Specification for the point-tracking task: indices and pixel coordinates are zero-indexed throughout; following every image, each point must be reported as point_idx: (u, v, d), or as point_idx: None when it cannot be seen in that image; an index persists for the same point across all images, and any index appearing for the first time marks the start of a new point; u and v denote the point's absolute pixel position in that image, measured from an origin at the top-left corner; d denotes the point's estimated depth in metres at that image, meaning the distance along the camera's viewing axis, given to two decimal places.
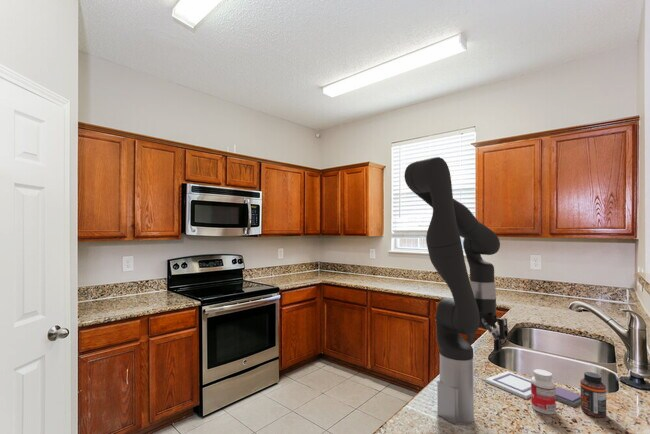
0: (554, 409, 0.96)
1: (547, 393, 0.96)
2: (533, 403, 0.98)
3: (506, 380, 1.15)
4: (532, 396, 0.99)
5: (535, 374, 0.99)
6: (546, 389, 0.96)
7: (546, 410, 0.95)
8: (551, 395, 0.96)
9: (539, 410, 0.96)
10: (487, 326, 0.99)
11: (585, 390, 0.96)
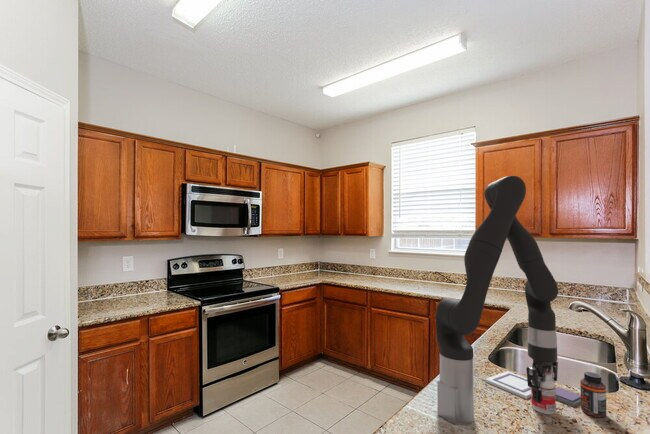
0: (554, 409, 0.96)
1: (547, 393, 0.96)
2: (533, 403, 0.98)
3: (506, 380, 1.15)
4: (532, 396, 0.99)
5: None
6: (546, 389, 0.96)
7: (546, 410, 0.95)
8: (551, 395, 0.96)
9: (539, 410, 0.96)
10: (552, 373, 0.98)
11: (585, 390, 0.96)
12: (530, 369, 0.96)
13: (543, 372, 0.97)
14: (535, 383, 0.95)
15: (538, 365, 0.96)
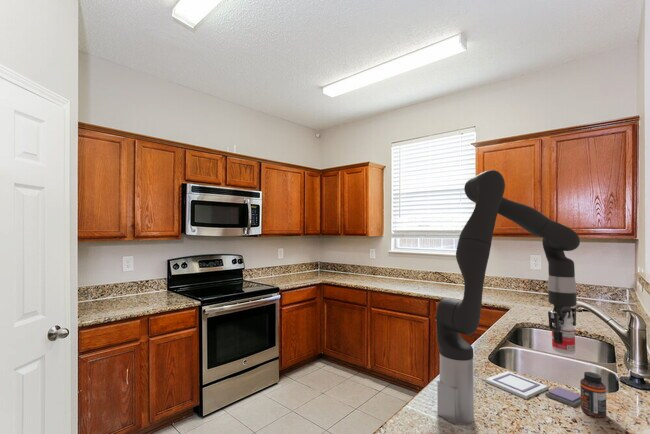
0: (574, 349, 1.04)
1: (568, 334, 1.03)
2: (554, 345, 1.06)
3: (506, 380, 1.15)
4: (553, 339, 1.07)
5: None
6: (567, 331, 1.03)
7: (567, 350, 1.03)
8: (571, 336, 1.03)
9: (560, 351, 1.04)
10: (571, 317, 1.06)
11: (585, 390, 0.96)
12: (552, 312, 1.03)
13: (563, 316, 1.04)
14: (556, 325, 1.02)
15: (559, 309, 1.04)
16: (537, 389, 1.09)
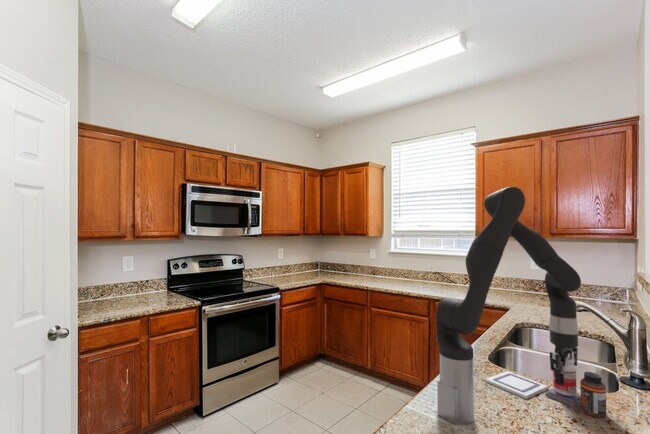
0: (575, 391, 1.03)
1: (569, 376, 1.03)
2: (555, 386, 1.06)
3: (506, 380, 1.15)
4: (554, 379, 1.06)
5: None
6: (568, 372, 1.03)
7: (568, 392, 1.03)
8: (573, 378, 1.03)
9: (561, 392, 1.04)
10: (572, 358, 1.06)
11: (585, 390, 0.96)
12: (553, 354, 1.03)
13: (565, 357, 1.04)
14: (558, 367, 1.02)
15: (560, 350, 1.04)
16: (537, 389, 1.09)
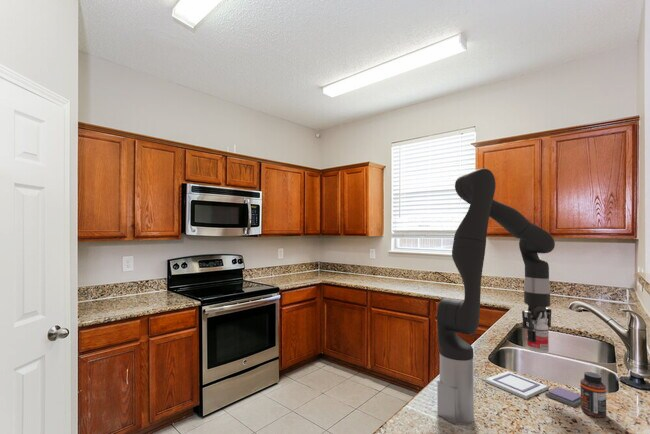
0: (547, 348, 1.07)
1: (541, 333, 1.07)
2: (528, 344, 1.10)
3: (506, 380, 1.15)
4: (527, 338, 1.11)
5: None
6: (540, 330, 1.08)
7: (540, 349, 1.07)
8: (544, 335, 1.07)
9: (533, 349, 1.08)
10: (545, 318, 1.10)
11: (585, 390, 0.96)
12: (525, 312, 1.08)
13: (537, 316, 1.09)
14: (529, 324, 1.07)
15: (533, 309, 1.08)
16: (537, 389, 1.09)
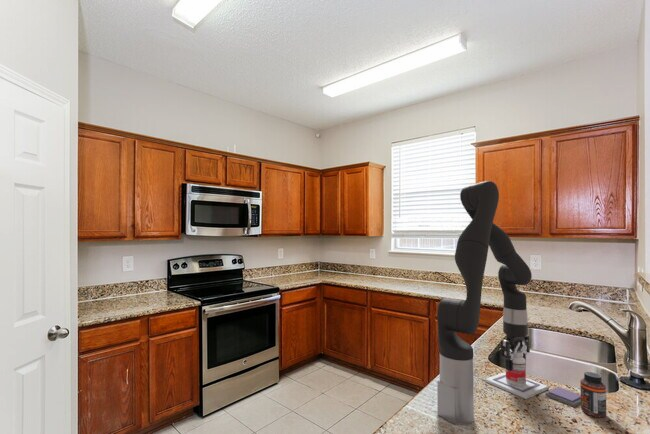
0: (524, 381, 1.11)
1: (518, 367, 1.11)
2: (507, 377, 1.14)
3: None
4: (506, 371, 1.15)
5: None
6: (518, 364, 1.11)
7: (517, 382, 1.11)
8: (522, 369, 1.11)
9: (511, 382, 1.12)
10: (524, 346, 1.14)
11: (585, 390, 0.96)
12: (504, 341, 1.11)
13: (515, 345, 1.12)
14: (507, 353, 1.10)
15: (511, 339, 1.12)
16: (537, 389, 1.09)
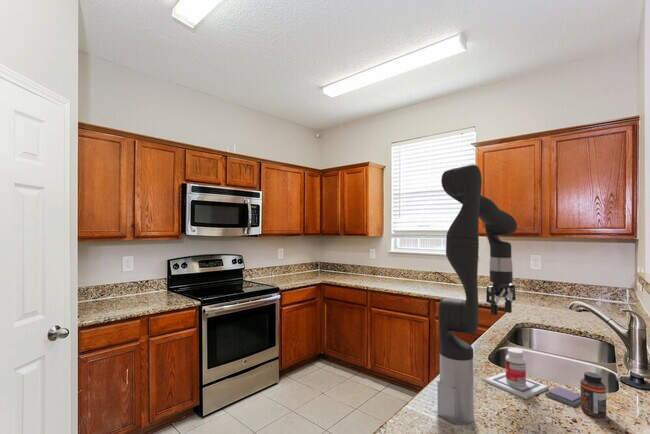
0: (524, 381, 1.11)
1: (518, 367, 1.11)
2: (507, 377, 1.14)
3: None
4: (506, 371, 1.15)
5: (509, 352, 1.14)
6: (518, 364, 1.11)
7: (517, 382, 1.11)
8: (522, 369, 1.11)
9: (511, 382, 1.12)
10: (509, 293, 1.20)
11: (585, 390, 0.96)
12: (489, 286, 1.18)
13: (500, 291, 1.18)
14: (492, 298, 1.16)
15: (496, 285, 1.18)
16: (537, 389, 1.09)
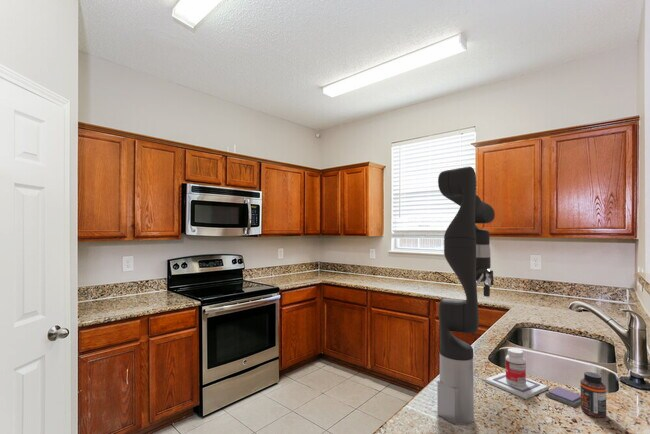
0: (524, 381, 1.11)
1: (518, 367, 1.11)
2: (507, 377, 1.14)
3: None
4: (506, 371, 1.15)
5: (509, 352, 1.14)
6: (518, 364, 1.11)
7: (517, 382, 1.11)
8: (522, 369, 1.11)
9: (511, 382, 1.12)
10: (487, 278, 1.28)
11: (585, 390, 0.96)
12: None
13: (479, 276, 1.26)
14: None
15: (475, 271, 1.26)
16: (537, 389, 1.09)
